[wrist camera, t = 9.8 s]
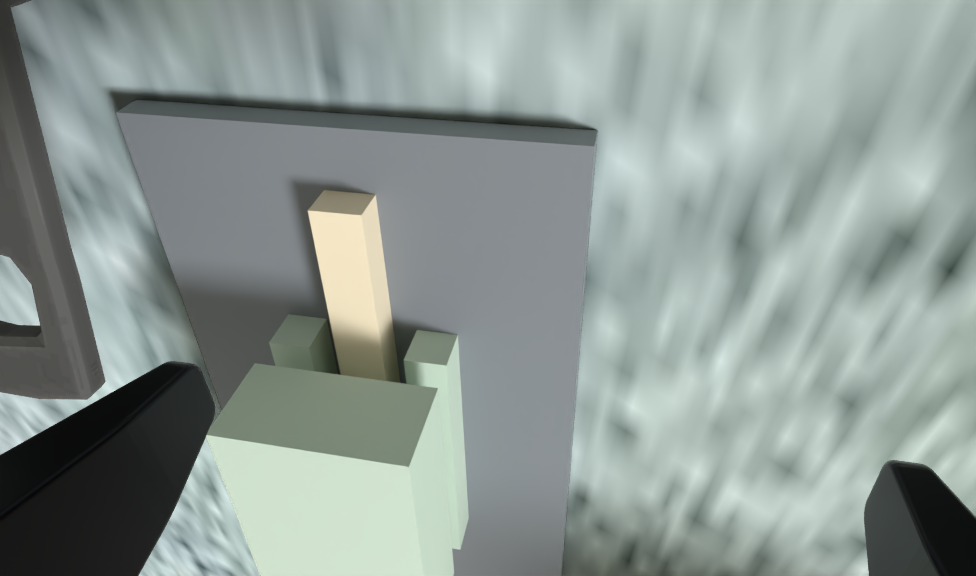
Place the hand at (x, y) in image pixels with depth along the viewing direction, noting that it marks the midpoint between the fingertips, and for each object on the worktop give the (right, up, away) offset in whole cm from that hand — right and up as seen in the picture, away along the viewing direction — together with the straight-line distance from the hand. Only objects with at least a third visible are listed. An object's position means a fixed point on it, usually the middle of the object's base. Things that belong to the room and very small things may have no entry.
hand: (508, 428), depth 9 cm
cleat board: (-4, -3, +18) cm, 19 cm away
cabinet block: (-4, -3, +17) cm, 18 cm away
